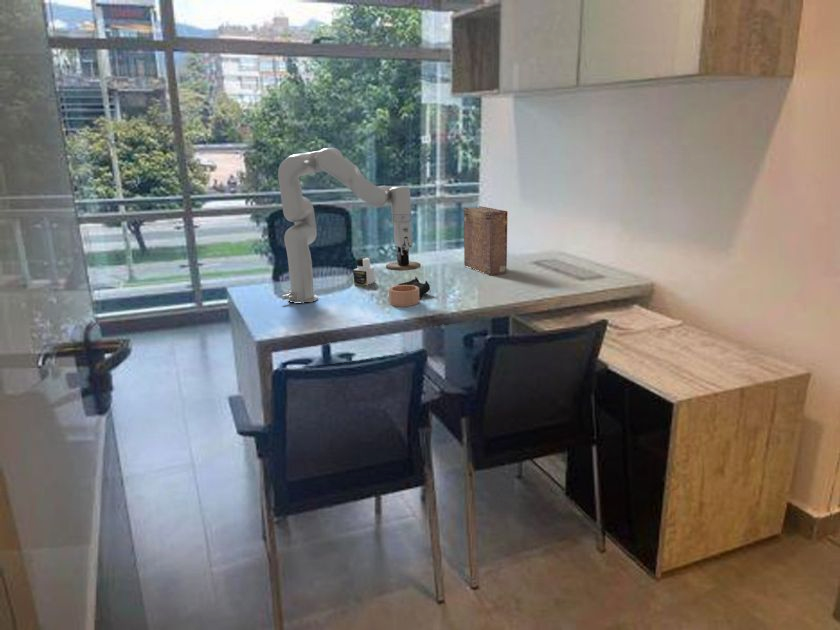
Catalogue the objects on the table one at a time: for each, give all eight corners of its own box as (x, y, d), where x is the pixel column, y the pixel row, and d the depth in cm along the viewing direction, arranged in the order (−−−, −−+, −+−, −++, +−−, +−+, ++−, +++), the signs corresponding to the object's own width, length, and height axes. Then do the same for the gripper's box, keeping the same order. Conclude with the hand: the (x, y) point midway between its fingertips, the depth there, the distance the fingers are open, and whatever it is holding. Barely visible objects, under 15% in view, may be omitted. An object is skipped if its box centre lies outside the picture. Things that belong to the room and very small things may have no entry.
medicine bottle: (353, 284, 289) (352, 259, 286) (362, 281, 295) (360, 256, 292) (366, 285, 286) (365, 260, 282) (375, 282, 292) (373, 257, 288)
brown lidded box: (464, 266, 320) (463, 207, 312) (479, 264, 324) (479, 206, 316) (490, 275, 298) (490, 212, 290) (506, 273, 302) (507, 211, 294)
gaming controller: (418, 304, 262) (435, 290, 264) (411, 294, 259) (429, 279, 262) (400, 296, 276) (416, 282, 278) (393, 286, 273) (410, 272, 276)
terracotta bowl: (405, 308, 248) (404, 293, 246) (383, 303, 256) (383, 289, 254) (425, 301, 257) (424, 287, 255) (403, 297, 264) (403, 283, 263)
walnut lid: (404, 272, 242) (403, 257, 241) (378, 267, 251) (378, 253, 250) (427, 265, 252) (427, 251, 251) (402, 261, 261) (401, 248, 260)
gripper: (417, 220, 240) (418, 266, 245) (404, 215, 255) (405, 259, 260) (398, 221, 238) (400, 268, 243) (386, 216, 253) (388, 261, 258)
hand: (403, 263), depth 252 cm, fingers closed on walnut lid, 4 cm apart
